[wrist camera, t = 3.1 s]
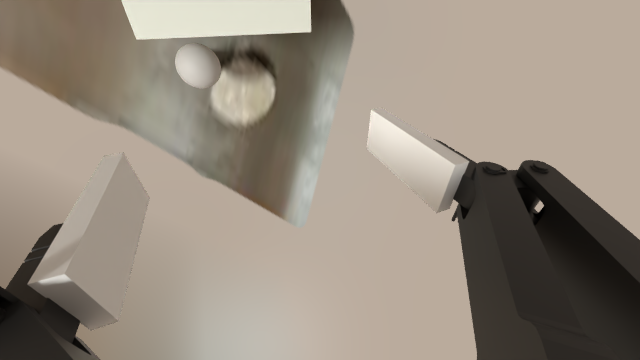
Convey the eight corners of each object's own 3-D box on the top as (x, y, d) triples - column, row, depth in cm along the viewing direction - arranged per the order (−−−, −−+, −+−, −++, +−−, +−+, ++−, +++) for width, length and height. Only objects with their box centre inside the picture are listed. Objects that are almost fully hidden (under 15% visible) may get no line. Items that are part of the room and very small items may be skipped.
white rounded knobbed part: (202, 29, 41) (202, 37, 32) (225, 64, 45) (231, 79, 36) (170, 48, 40) (162, 61, 32) (196, 82, 44) (195, 101, 36)
